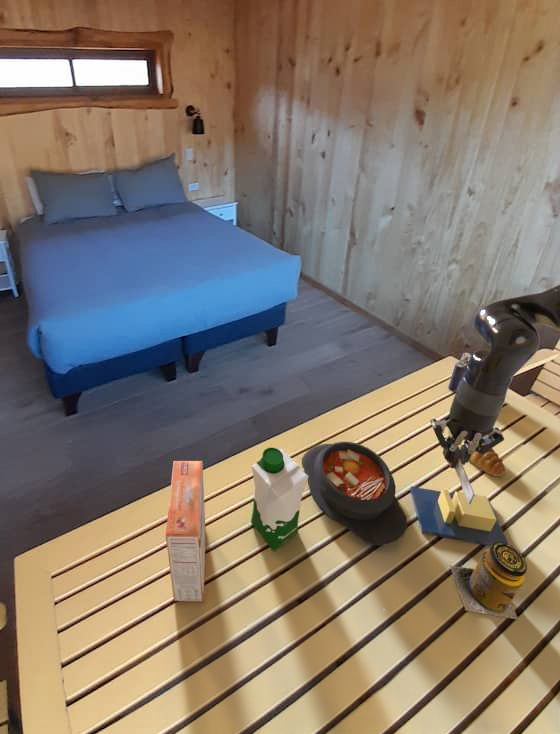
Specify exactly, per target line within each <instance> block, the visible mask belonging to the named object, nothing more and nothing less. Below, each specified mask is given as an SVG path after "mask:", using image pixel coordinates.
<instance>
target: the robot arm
mask: <svg viewBox="0 0 560 734" xmlns="http://www.w3.org/2000/svg"><path fill="white" fill-rule="evenodd" d="M534 325H543V326H546V327H548V328H551V329H554V330H557V331H560V284H557V285H556V286H553V287H551V288H548V289H546V290H544V291H541V292H538V293H531V294H526V295H520V296H516V297H511V298H506V299H502V300H497V301H494V302H492V303H490V304H488V305H485V306H484V307H483V308H482V309H480V310H479V311H478V312H477V313H476V314H475V317H474V320H473V326H474V328H475V330H476V332H477V333H478V334H479V335H480V336H481V337H482V338H483V339H484V341H485V342H486V343H487V344H488V345H489V346H490V347H489V349H486V348H483V349H478V350H475V351H474V352H473V353H472V354H471V355H472V356H471V358H470V360H469V362H468V365H467V368H466V370H465V373H464V376H463V378H462V379H461V381H460V383H459V385H458V388H457V390H456V391H455V394H454V396H453V399H452V402H451V405H450V408H449V413H448V415H446V416H445V417H444V419H442V420H437V419H436V418H431V419H430V420H429V421H430V424H431V427H432V430H433V432H434V435H435V437H436V439H437V441H438V443H439V445H440V448H442V455H443V458H444V460H445V461H446V462H447V463H448V462H449V463H451V462H452V459H453V457H454V455H455V453H456V449H457V447H458V446H460V445H461V444H462V443H463V442H464V445H462V446H461V448H460V447H459V449H460V451H461V454H462V456H463V458H464V462H463V466H465V465H466V464H467V463H469V462H470V461H469V459H470V457H471V455H472V454H474V453H475V452H479V453H480V454H483V453H485V452H487V451H488V450H490V449H491V448H492V449H494V447H496V446H498V445H499V444H501V443H503V442H504V441H505V437H504V435H503V433H502V431H501V430H500V428H498V427H495V425H496V423H497V420H498V417H499V415H500V413H501V411H502V409H503V406H504V404H505V401H506V397H507V392H508V390H509V388H510V385H511V383H512V381H513V379H514V377H515V375H516V374H517V373H518V372H519V371H520V370H521V369H523V367H524V366H525V365H526V364H527V363H528V362H529V361H530V360H531V359H532V358H533V357H534V356H535V355H536V354H537V352H538V350H539V347H540V342H541V340H540V339H541V338H540V334H539V332H538V329H537V328H536V327H535V326H534ZM446 428H447V429H448V434H447V436H446V437H445V436H444V433H445V430H446ZM483 443H485V444H484V445H483V446H482V444H483ZM443 448H444V450H443ZM449 463H448V464H449Z"/></svg>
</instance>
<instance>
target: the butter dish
mask: <svg viewBox="0 0 560 734" xmlns="http://www.w3.org/2000/svg"><path fill="white" fill-rule="evenodd" d="M409 491H410V495H411V498H412V502H413V506H414V510H415V514H416V517H417V522H418V524H419V528H421V529H420V532H421V534H424V533H426V534H425V535H429V534H430V535H429V536H435V537H440V538H446V539H450V538H451V540H455V541H462V542H466V543H472V544H476V545H481V546H486V547H487V546H488V547H490V545H492V543H494V542H505V543H507V544H509V542H508V539H507V537H506V534H505V532H504V530H503V528H502V526H501V523H500V521H499V519H498V516H497V515H496V512H495V510H494V507H493V506H492V502H491V501H490V499H488V497H487V496H485V495H480V494H475V496H474V498H473V500H472V502H471V504H469V503H468V501H467V498H466V496H465V493H464V492H463V491H456V490H455V491H454V493H451V492H449V494H450V497H451V500H452V503H453V505H454V508H455V511H456V514H455V516H454V518H453V520H452V523H451V524H448V523H445V522H444V519H443V515H442V512H441V509H440V506H439V503H438V499H439V496H440V494H441V491H440V490H435V489H428V488H422V487H417V486H410V488H409Z"/></svg>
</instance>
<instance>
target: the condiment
mask: <svg viewBox="0 0 560 734" xmlns="http://www.w3.org/2000/svg"><path fill="white" fill-rule="evenodd" d="M449 568H450V570H451V573H452V576H453V579H454V582H455V585H456V588H457V591H458V595H459V596H460V599H461V602H462V604H463V605H462V606H463V607H464V610H465V611H466V612H471V613H472V612H473V613H479V614H485V615H490V616H493V617H501V618H506V619H513V620H519V618H518V615H517V613H516V611H515V609H514V607H513V605H512V603H511V602H512V601H513V600H514V598H515V596H516V595H517V594H518V592H519V590H520V588H521V587H522V586H523V584H524V582H525V575H526V573H527V570H528V564H527V562H526V559H525V557H524V555H523V554H522V553H521V552H520V551H519V550H518V549H517V548H515V547H514V546H513V545H511V544H510V543H508V544H507V543H505V542H494V543H492V545H490V546H488V548H486V549H485V550H484V551H483V552H482V554H481V556H480V558H479V560H478V562H477V564H476V566H475V567H474V568H470V567H464V566H463V567H462V566H457V565H451V564H450V565H449Z"/></svg>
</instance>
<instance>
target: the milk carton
mask: <svg viewBox="0 0 560 734" xmlns="http://www.w3.org/2000/svg"><path fill="white" fill-rule="evenodd" d="M251 471H252V477H253V483H254V490H253V504H252V505H253V507H252V514H251V520H250V524H252V526H253V527H254V528H255V530H256V531H257V532H258V534H259V535H260V536H261V538H263V540H264V541H265V543H266V544H267V545H268V547H269V548H270V549H271V550H272V552H275V551H276V550H277V549H279V548H280V547H281V546H282V545H284V544H285V543H286V542H288V540H290V539H291V538H292V537H294V536H295V535H296V534H298V533H299V516H300V512H301V503H302V498H303V493H304V491H305V487H306V484H307V483H308V475H307V474H306V473H305V471H304V469H303V468H301V467H300V465H299V464H298V463H296V461H294V460H293V458H292V457H290V456H289V454H287V453H286V452H285V451H284V450H283V449H282V448H281V447H279V448H277V447H267V448H265V449H264V451H263V452H262V456H261V458H260V459H259V460H258V461H256V462H255V463H254V464H253V465H252V466H251Z"/></svg>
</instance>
